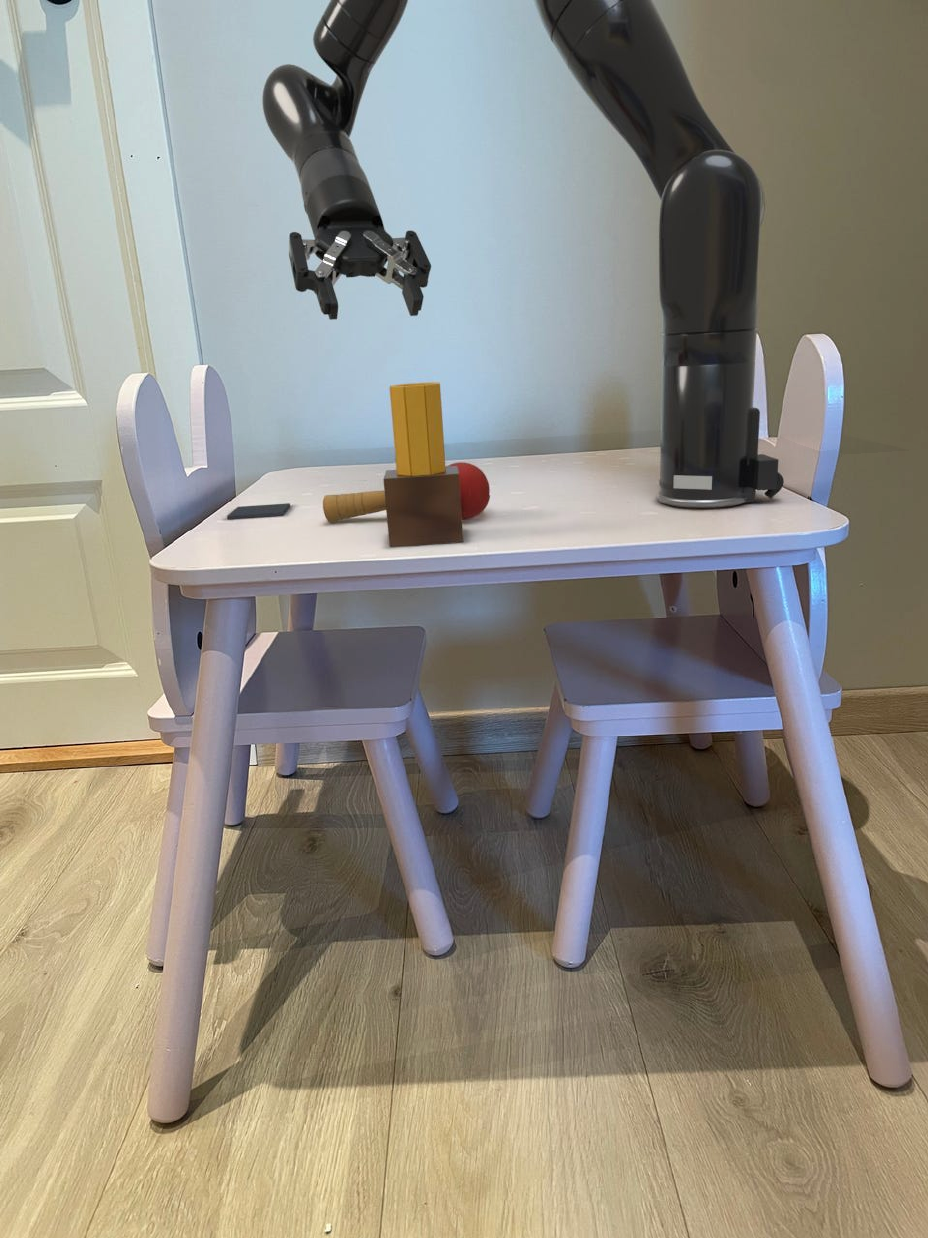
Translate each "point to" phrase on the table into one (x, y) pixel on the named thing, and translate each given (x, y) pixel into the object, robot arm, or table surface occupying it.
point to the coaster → (259, 511)
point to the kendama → (359, 504)
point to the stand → (423, 508)
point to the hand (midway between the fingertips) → (375, 311)
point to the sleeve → (418, 428)
